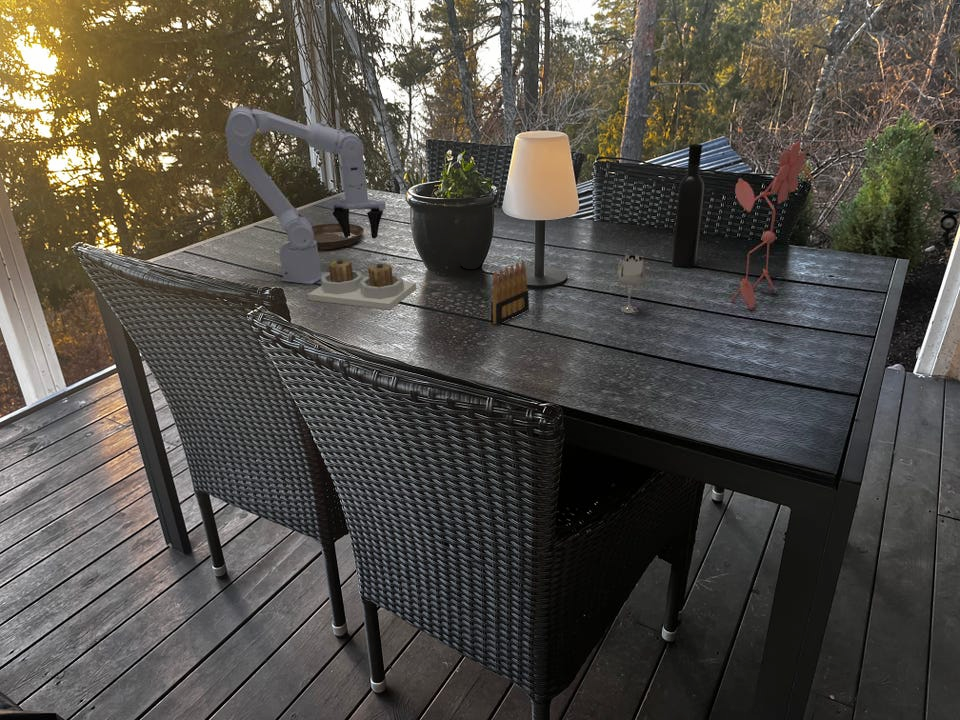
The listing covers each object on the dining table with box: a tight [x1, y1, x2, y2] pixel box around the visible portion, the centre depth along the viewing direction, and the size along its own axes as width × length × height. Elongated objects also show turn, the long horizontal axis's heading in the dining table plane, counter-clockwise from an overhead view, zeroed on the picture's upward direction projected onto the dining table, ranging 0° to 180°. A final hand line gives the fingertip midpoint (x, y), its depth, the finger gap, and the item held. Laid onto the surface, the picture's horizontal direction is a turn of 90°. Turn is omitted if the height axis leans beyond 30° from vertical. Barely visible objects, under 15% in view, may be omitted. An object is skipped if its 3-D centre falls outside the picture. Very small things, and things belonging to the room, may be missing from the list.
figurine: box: [730, 139, 816, 310], centre depth 146 cm, size 15×26×35 cm, turn 133°
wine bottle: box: [671, 143, 705, 268], centre depth 173 cm, size 6×6×30 cm
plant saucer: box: [312, 222, 365, 250], centre depth 209 cm, size 21×21×3 cm
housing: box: [307, 269, 417, 311], centre depth 168 cm, size 22×14×4 cm, turn 69°
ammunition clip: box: [490, 260, 530, 326], centre depth 150 cm, size 11×2×12 cm, turn 136°
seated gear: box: [368, 263, 393, 287], centre depth 165 cm, size 5×5×7 cm
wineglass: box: [616, 254, 646, 313], centre depth 151 cm, size 6×6×12 cm
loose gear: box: [328, 259, 353, 283], centre depth 169 cm, size 5×5×7 cm
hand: (361, 236), depth 180 cm, fingers open, 7 cm apart
